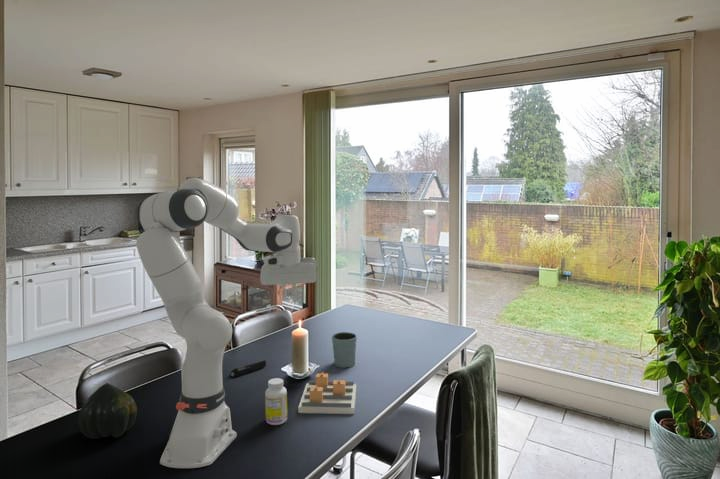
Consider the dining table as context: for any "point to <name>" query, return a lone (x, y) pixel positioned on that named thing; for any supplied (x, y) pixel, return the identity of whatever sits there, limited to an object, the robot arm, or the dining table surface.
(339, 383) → the tab
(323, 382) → the tab
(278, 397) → the supplement bottle
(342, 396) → the switch bank
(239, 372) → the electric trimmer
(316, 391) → the tab
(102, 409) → the squash
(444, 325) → the dining table surface
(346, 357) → the green cup
